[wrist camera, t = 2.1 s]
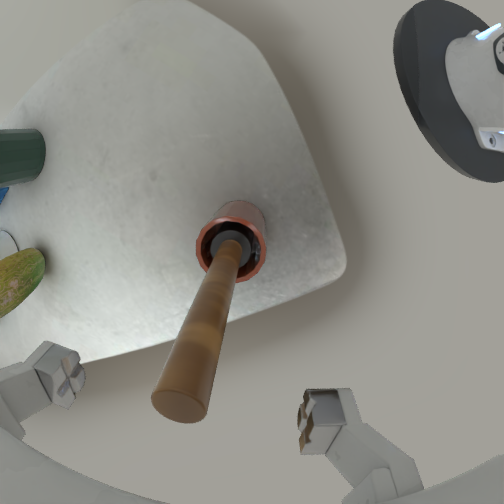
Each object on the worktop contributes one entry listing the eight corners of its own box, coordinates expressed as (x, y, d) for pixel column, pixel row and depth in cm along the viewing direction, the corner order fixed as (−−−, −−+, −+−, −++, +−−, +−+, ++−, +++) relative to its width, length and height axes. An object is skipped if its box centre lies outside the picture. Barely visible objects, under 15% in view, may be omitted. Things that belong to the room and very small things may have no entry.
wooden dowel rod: (256, 214, 27) (231, 382, 7) (252, 244, 29) (227, 441, 8) (223, 211, 28) (120, 361, 7) (221, 241, 29) (139, 423, 8)
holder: (268, 203, 28) (269, 220, 20) (262, 253, 30) (261, 286, 22) (215, 198, 28) (197, 213, 20) (212, 248, 30) (195, 279, 22)
